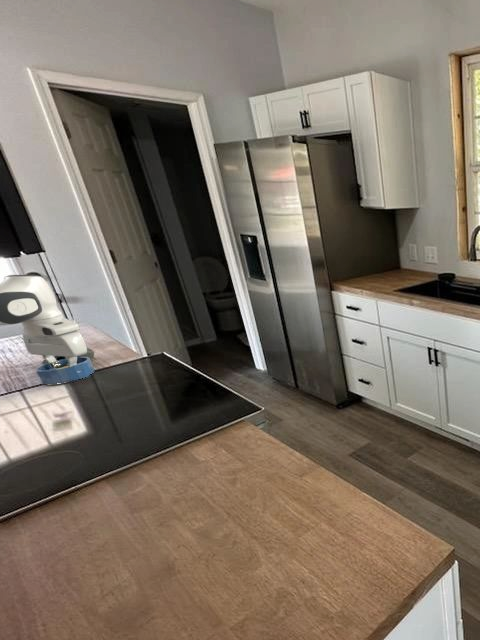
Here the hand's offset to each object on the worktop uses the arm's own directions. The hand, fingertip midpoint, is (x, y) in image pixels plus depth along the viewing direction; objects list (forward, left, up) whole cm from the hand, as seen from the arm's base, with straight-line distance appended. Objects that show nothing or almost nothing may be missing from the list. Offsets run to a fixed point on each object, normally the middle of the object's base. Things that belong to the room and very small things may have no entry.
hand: (64, 367), depth 131 cm
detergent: (+11, +16, -4) cm, 20 cm away
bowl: (0, 0, -4) cm, 4 cm away
